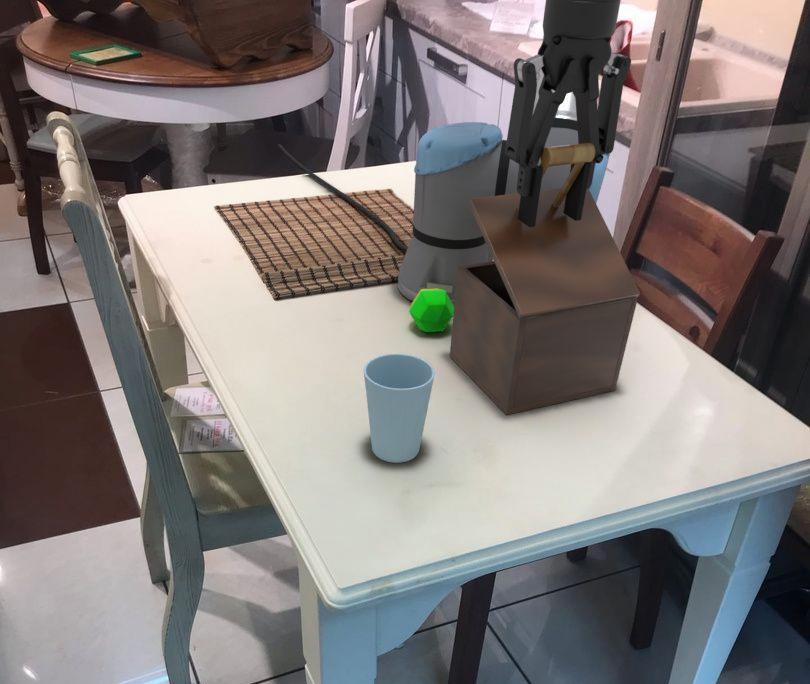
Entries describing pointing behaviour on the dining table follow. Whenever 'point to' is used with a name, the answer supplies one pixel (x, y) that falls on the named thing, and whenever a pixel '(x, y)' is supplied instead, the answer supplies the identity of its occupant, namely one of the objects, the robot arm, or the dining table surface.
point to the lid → (554, 246)
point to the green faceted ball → (432, 310)
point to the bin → (534, 344)
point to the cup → (397, 404)
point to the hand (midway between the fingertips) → (549, 219)
